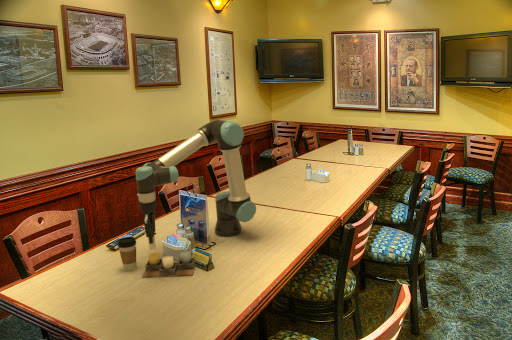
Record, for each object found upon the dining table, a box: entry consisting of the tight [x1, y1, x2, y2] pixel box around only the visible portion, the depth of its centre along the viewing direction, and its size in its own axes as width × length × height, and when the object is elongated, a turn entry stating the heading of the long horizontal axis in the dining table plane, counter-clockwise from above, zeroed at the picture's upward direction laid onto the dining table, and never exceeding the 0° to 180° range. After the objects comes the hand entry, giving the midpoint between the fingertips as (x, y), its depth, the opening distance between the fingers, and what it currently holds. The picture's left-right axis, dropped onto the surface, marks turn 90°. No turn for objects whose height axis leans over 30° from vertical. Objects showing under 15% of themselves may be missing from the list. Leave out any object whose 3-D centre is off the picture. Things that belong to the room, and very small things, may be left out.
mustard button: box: [147, 252, 161, 265], centre depth 207 cm, size 5×5×4 cm
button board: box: [141, 256, 197, 279], centre depth 206 cm, size 23×13×3 cm, turn 89°
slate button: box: [179, 250, 192, 264], centre depth 207 cm, size 5×5×4 cm
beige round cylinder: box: [161, 255, 174, 269], centre depth 203 cm, size 5×5×4 cm
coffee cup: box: [117, 236, 138, 272], centre depth 209 cm, size 8×8×15 cm
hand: (152, 248), depth 206 cm, fingers closed
